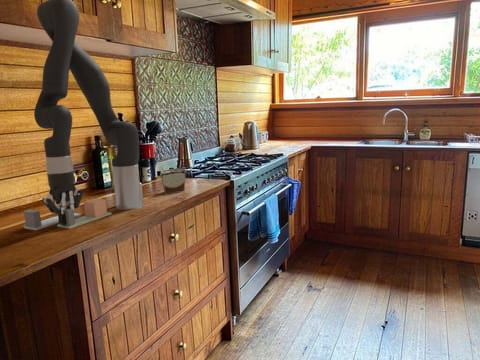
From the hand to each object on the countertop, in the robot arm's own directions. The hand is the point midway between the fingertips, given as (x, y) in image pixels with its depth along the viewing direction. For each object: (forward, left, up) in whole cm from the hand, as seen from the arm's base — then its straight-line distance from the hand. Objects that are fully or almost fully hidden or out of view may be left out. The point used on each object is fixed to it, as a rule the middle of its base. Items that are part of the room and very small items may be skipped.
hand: (67, 223), depth 118 cm
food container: (-57, -3, -3) cm, 57 cm away
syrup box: (-51, -29, -2) cm, 59 cm away
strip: (-2, -9, -1) cm, 9 cm away
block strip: (-7, 0, -1) cm, 7 cm away
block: (-12, 0, 0) cm, 12 cm away
